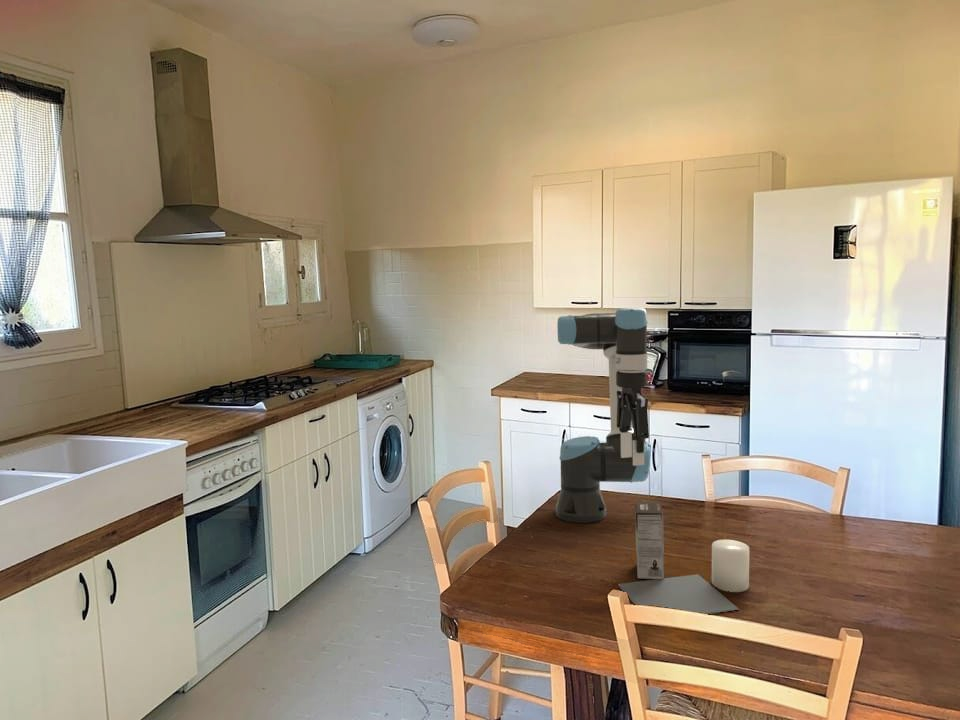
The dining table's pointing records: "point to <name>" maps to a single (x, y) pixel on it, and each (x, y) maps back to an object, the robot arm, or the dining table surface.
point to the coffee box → (649, 540)
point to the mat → (679, 594)
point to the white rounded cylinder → (730, 565)
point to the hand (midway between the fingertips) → (632, 460)
